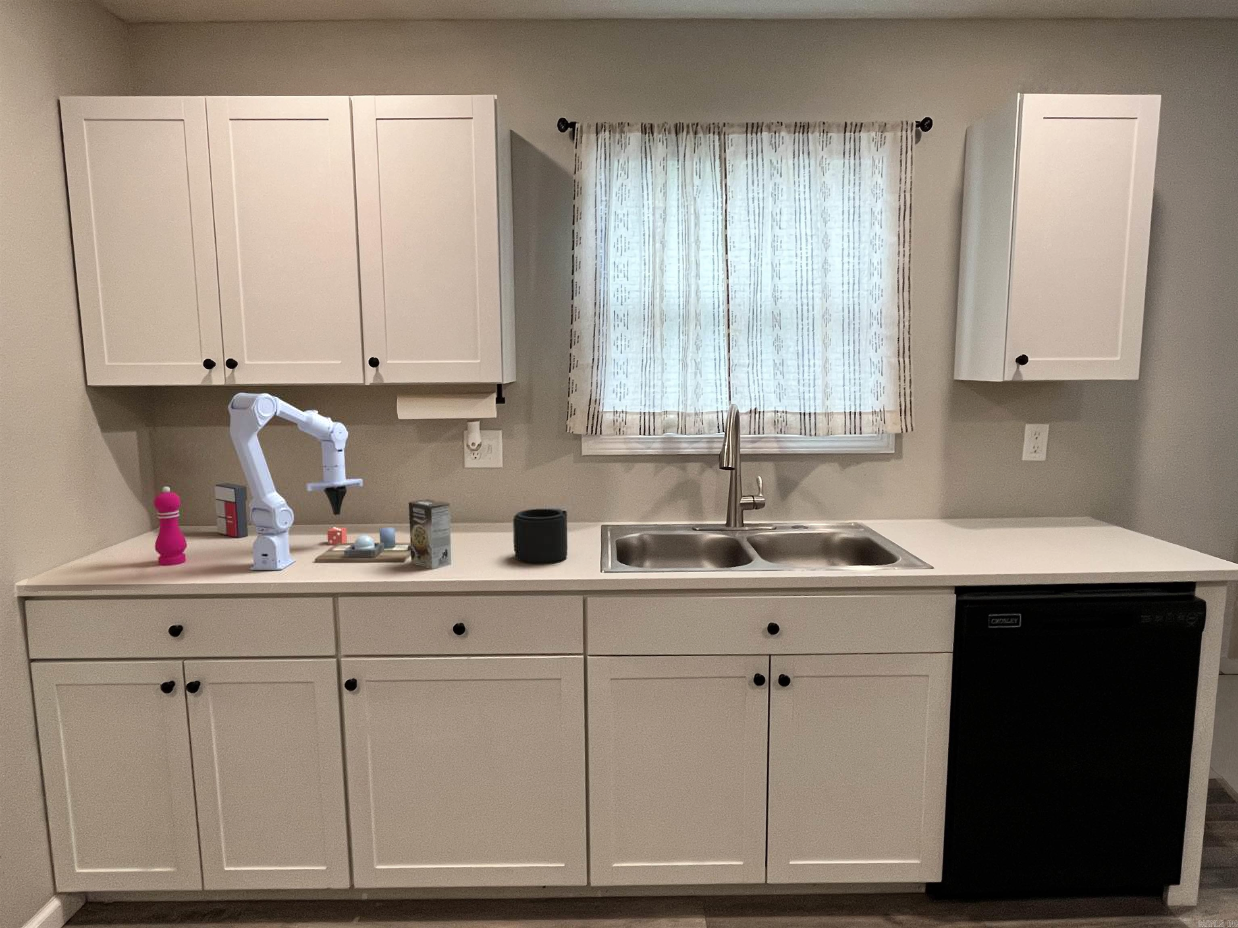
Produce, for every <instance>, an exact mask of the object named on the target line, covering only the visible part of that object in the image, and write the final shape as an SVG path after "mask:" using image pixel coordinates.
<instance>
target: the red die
mask: <svg viewBox="0 0 1238 928" xmlns="http://www.w3.org/2000/svg"><path fill="white" fill-rule="evenodd" d="M326 532H327V534H326V535H327V545H328V546H329V545H330V546H334V545H336V544H337V543H348V542H347V541H348V535H347V534H348V533H347V527H335V526H333V527H331V528H330V529H328V530H327V531H326Z"/></svg>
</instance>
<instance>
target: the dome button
mask: <svg viewBox="0 0 1238 928" xmlns="http://www.w3.org/2000/svg"><path fill="white" fill-rule="evenodd" d="M354 543H355V544H354V546H355V549H373V548H374V543H375V540H374V539H373V538H372V537H371V536H370V535H368V534H367V535H360V536H358V537H357V538H356V539H355V541H354Z"/></svg>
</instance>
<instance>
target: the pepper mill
mask: <svg viewBox="0 0 1238 928" xmlns="http://www.w3.org/2000/svg"><path fill="white" fill-rule="evenodd" d="M161 491H162V493H159V494H157V495H156V496H155V498H154V499H153V506H154V508H155V509H156V510H157V512H156V515H157V516H156V517H157V518H158V519H159V532H158V534H157V537H156V540H155V542H154V543H155V544H154V551H156V553H157V554H158V555H159V556H158V557H157V561H158V565H160V566H176V565H180V564H183V563H185V562H186V561H187V558H186V557H187V556H186V555H187V554H186V553H184V552H185V550H186V549H187V547H188V544H187V540H186V537H185V535H184V534H183V532H182V531H181V529H180V526H179V522H178V521H179V516H180V511H179V507H180V506H181V498H180V496H179V495H178V494H177V493H176V492H171V488H170V487H169V486H163V487H162V489H161Z"/></svg>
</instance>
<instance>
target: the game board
mask: <svg viewBox="0 0 1238 928" xmlns="http://www.w3.org/2000/svg"><path fill="white" fill-rule="evenodd" d="M354 544H355V542H345V543H337V544H336V545H332V546H331V547H330V548H328V549H327V550H325V551H324V552H323V553H321V554H319V555H318V556H317V557H315V558H314V561H315V563H405V562H406V561H407V560H408V559H409V558H411V544H410V542H395V547H394V548H389V549H384V543H380V542H374V548H373V549H355V546H354Z"/></svg>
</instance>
